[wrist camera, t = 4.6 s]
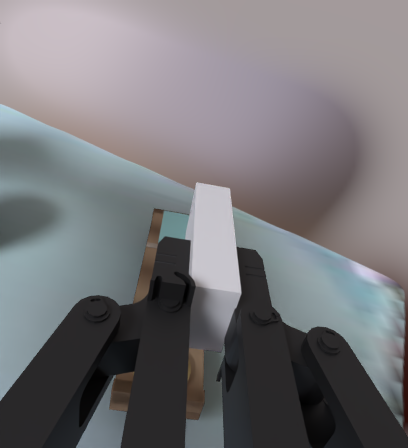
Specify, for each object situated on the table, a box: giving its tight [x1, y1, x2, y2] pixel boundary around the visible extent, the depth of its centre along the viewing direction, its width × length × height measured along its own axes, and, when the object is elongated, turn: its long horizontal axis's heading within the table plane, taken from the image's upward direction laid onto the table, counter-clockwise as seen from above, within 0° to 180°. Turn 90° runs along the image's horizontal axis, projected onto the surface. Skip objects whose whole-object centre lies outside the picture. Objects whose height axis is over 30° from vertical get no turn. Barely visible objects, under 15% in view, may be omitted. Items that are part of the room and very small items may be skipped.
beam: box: [110, 208, 205, 420], centre depth 40 cm, size 26×7×6 cm, turn 179°
